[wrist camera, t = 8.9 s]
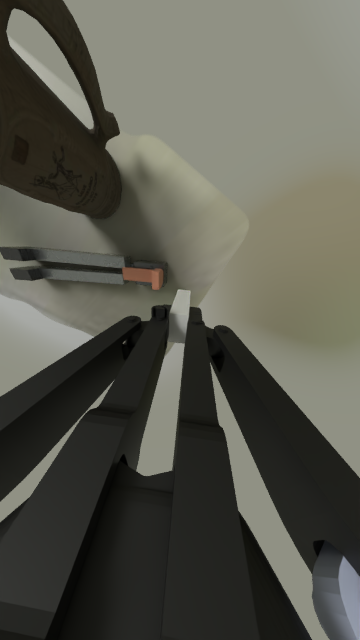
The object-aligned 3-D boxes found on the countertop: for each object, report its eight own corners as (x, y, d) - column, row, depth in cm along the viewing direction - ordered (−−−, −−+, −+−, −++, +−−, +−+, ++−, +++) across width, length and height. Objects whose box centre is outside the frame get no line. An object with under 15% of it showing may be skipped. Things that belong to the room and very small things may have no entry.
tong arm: (127, 272, 31) (116, 276, 27) (128, 281, 32) (118, 287, 28) (35, 265, 32) (9, 268, 28) (39, 274, 33) (15, 279, 29)
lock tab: (163, 268, 26) (158, 271, 23) (162, 284, 28) (158, 290, 24) (123, 264, 26) (112, 267, 23) (125, 280, 28) (115, 285, 24)
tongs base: (167, 259, 29) (162, 262, 25) (166, 282, 32) (161, 288, 27) (28, 246, 31) (-3, 246, 26) (38, 269, 33) (11, 273, 28)
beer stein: (100, 235, 28) (-46, 201, 10) (51, 184, 25) (-291, 5, 7) (149, 166, 23) (31, -124, 5) (96, 92, 20) (-656, -1290, 2)
